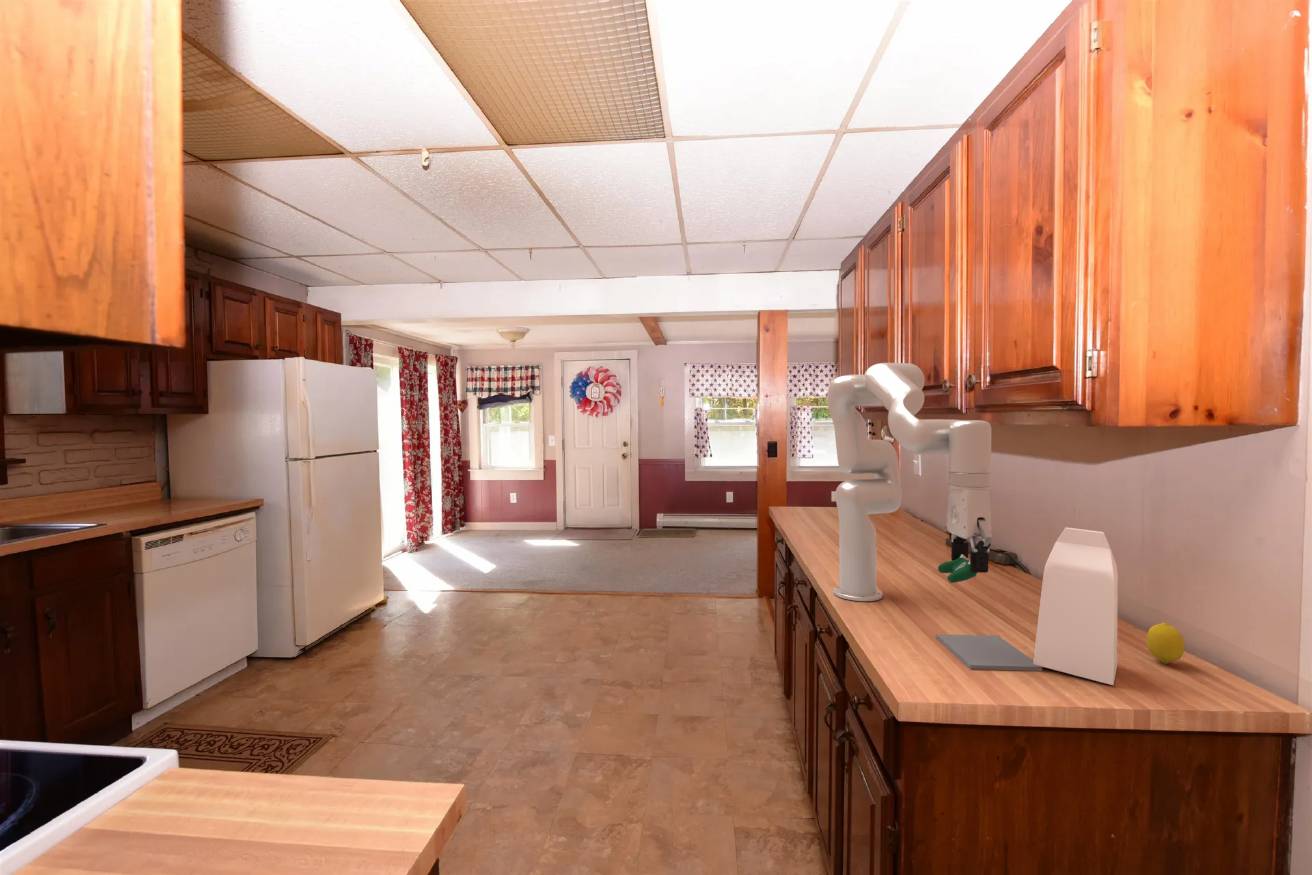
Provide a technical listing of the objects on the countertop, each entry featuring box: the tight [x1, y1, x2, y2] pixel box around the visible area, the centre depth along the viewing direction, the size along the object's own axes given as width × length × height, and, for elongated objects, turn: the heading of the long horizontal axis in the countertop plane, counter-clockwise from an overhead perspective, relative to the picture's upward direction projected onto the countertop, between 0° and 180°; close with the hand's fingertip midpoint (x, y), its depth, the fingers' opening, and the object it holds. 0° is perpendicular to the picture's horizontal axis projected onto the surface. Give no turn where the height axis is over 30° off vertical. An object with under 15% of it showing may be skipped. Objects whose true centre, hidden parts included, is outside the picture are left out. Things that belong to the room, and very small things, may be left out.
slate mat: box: [935, 633, 1043, 672], centre depth 117 cm, size 16×13×1 cm
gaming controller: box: [937, 554, 979, 584], centre depth 117 cm, size 9×4×6 cm
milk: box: [1032, 527, 1119, 686], centre depth 109 cm, size 12×12×26 cm
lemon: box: [1145, 622, 1185, 665], centre depth 111 cm, size 6×6×8 cm
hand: (969, 566), depth 117 cm, fingers closed on gaming controller, 8 cm apart
